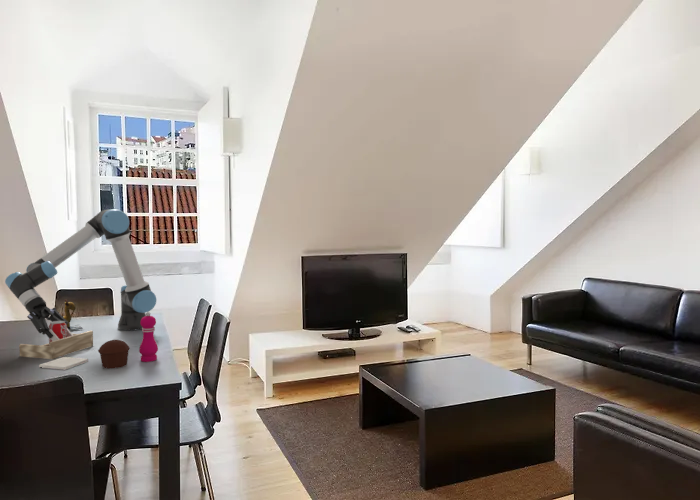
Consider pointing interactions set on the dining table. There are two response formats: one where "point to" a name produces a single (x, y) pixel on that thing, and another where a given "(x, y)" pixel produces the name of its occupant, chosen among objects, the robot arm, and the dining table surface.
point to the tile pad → (63, 363)
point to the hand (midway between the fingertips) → (64, 340)
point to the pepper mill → (148, 339)
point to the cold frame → (58, 346)
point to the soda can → (58, 329)
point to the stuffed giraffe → (69, 315)
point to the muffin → (114, 354)
